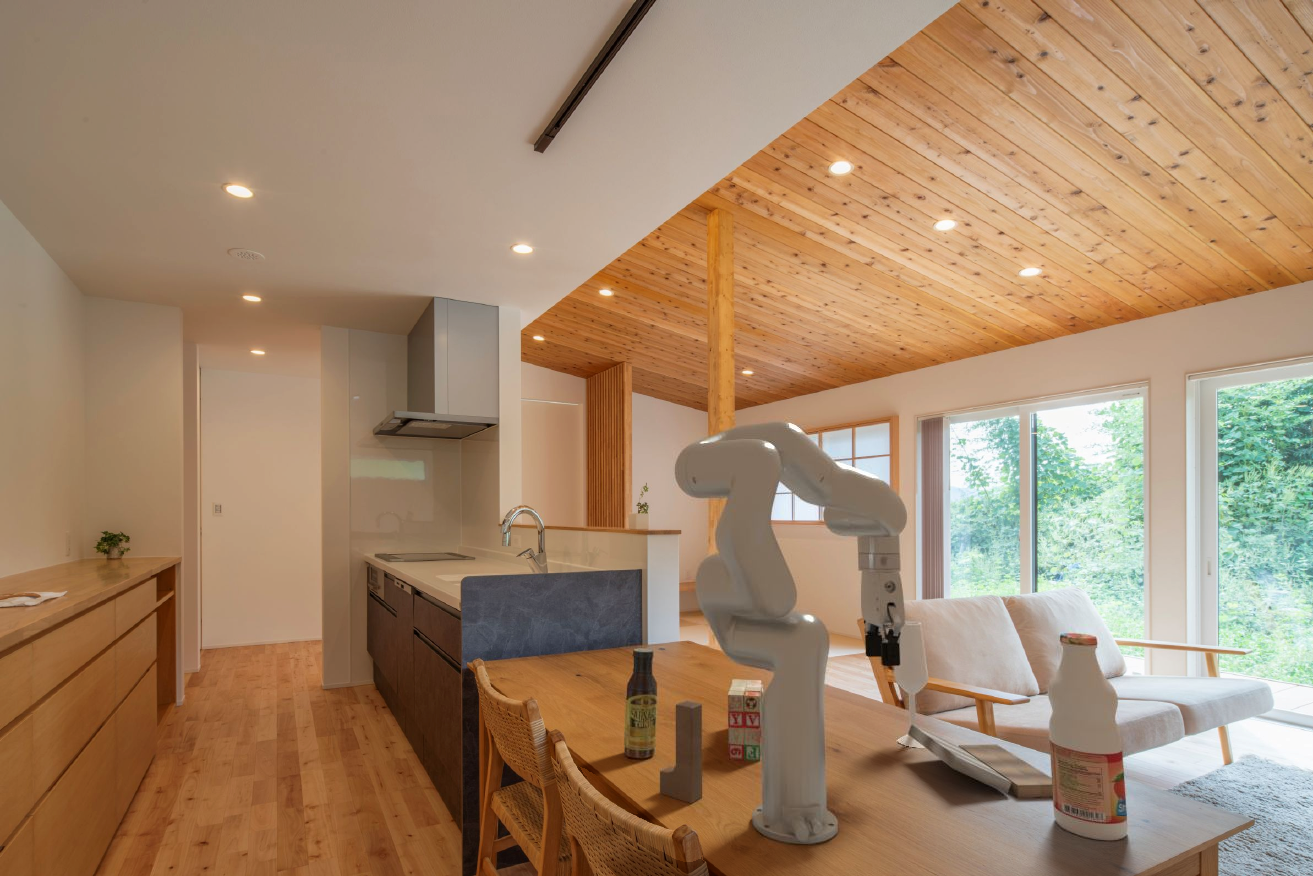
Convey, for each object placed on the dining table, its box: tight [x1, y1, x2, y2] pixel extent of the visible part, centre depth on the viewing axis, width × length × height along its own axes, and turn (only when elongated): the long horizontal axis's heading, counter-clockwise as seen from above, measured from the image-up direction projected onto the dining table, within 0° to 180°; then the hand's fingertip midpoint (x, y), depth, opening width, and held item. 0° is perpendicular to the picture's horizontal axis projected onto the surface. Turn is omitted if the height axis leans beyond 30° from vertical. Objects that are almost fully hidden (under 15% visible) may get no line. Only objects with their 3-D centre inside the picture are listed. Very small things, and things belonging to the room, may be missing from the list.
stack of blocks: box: [727, 678, 764, 762], centre depth 142 cm, size 21×6×12 cm, turn 169°
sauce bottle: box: [623, 647, 658, 760], centre depth 135 cm, size 7×6×20 cm
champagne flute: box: [893, 620, 929, 749], centre depth 143 cm, size 7×7×24 cm
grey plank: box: [907, 725, 1012, 794], centre depth 124 cm, size 18×10×2 cm, turn 3°
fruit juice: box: [1047, 632, 1128, 841], centre depth 105 cm, size 9×9×28 cm
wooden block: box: [659, 700, 703, 804], centre depth 116 cm, size 7×3×15 cm, turn 53°
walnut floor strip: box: [958, 743, 1053, 799], centre depth 124 cm, size 20×8×2 cm, turn 3°
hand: (882, 660), depth 127 cm, fingers open, 7 cm apart
